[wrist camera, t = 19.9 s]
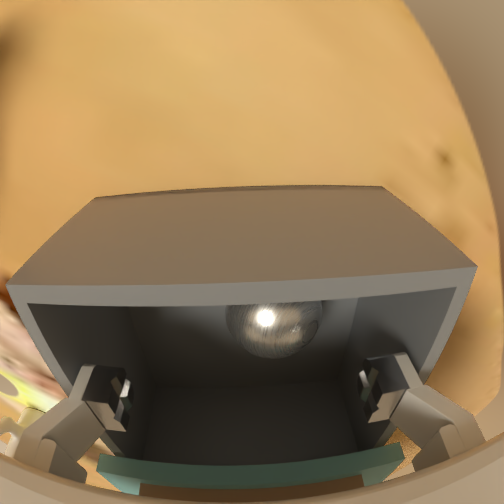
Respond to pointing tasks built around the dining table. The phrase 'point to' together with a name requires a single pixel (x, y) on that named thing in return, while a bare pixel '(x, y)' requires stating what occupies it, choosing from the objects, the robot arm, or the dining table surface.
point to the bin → (241, 293)
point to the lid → (251, 477)
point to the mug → (18, 428)
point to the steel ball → (274, 327)
